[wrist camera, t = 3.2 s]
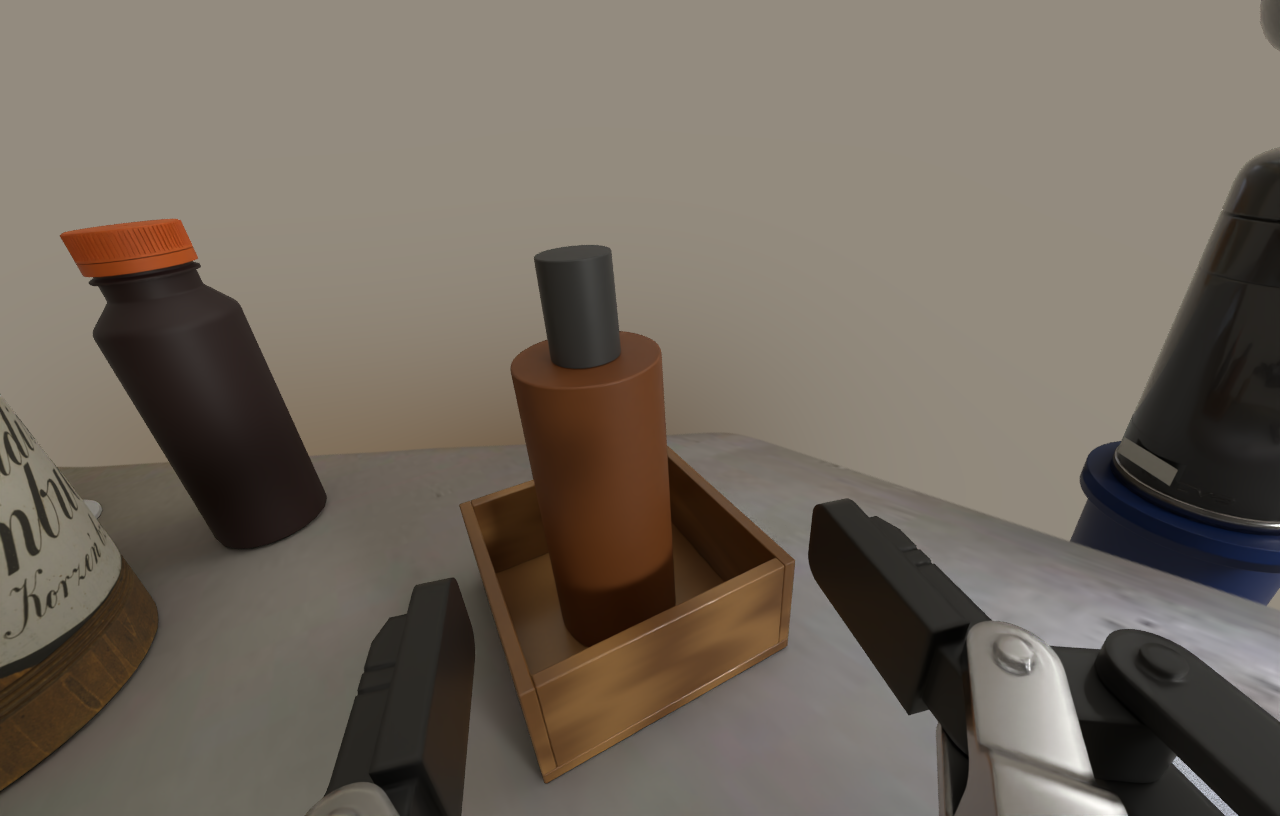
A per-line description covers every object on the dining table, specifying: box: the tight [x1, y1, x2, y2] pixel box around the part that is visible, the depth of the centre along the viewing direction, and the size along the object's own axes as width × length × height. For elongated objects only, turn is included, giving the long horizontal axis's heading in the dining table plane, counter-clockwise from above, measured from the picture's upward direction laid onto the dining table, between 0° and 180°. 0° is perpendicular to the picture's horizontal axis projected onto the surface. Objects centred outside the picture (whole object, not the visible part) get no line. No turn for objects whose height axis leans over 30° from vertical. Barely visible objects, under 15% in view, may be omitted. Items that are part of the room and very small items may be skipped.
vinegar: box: [60, 219, 327, 549], centre depth 32 cm, size 7×7×20 cm
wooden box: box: [460, 446, 795, 783], centre depth 26 cm, size 12×12×6 cm
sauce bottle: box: [511, 245, 676, 647], centre depth 23 cm, size 6×6×18 cm
